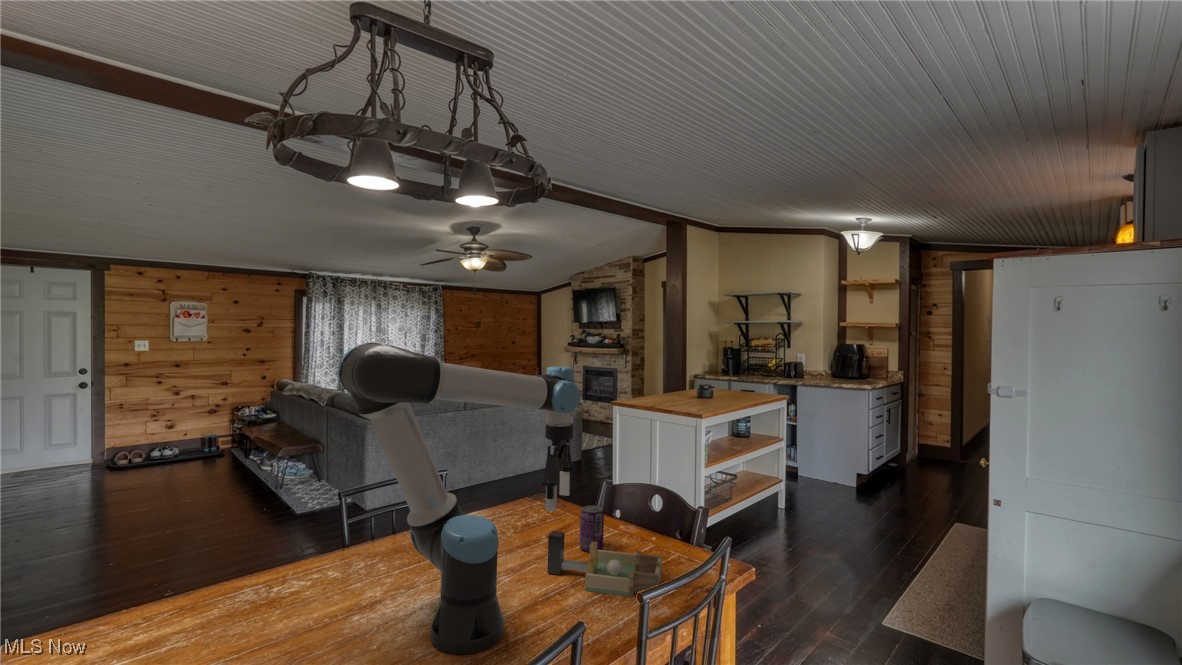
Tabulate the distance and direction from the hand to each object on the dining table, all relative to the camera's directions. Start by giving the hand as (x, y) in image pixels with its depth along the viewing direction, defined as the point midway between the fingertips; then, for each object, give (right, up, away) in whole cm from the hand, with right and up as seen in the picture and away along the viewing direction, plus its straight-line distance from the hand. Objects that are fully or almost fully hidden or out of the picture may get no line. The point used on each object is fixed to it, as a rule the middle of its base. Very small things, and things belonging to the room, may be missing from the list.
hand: (557, 502), depth 143 cm
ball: (+15, -16, -4) cm, 22 cm away
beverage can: (+9, -19, +16) cm, 27 cm away
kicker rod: (+4, -19, -1) cm, 19 cm away
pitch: (+14, -19, -3) cm, 24 cm away
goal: (+23, -19, -5) cm, 31 cm away
